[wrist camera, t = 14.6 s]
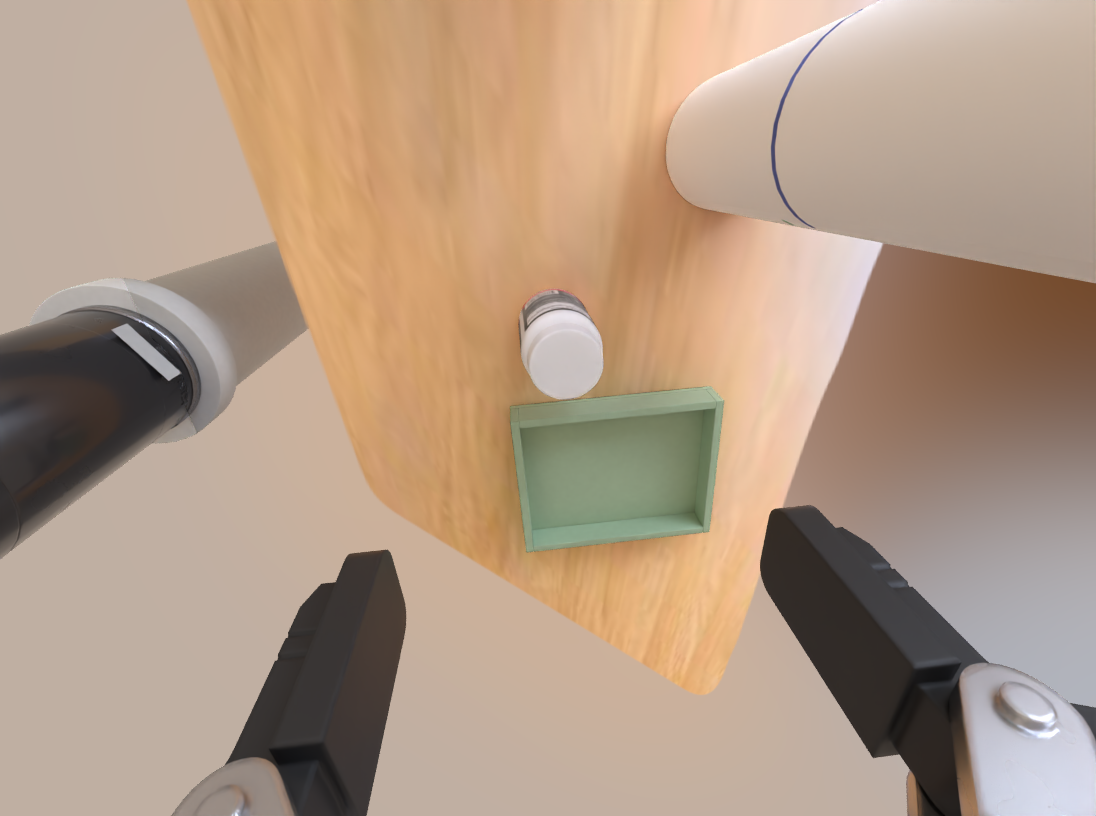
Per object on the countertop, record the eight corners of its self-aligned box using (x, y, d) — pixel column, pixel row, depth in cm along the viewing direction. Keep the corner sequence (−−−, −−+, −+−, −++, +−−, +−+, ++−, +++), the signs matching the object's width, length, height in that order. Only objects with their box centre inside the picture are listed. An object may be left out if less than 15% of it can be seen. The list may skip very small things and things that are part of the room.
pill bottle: (573, 362, 33) (592, 416, 26) (510, 344, 32) (511, 395, 25) (597, 298, 31) (625, 338, 24) (530, 277, 30) (538, 312, 23)
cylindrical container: (724, 41, 26) (2170, -824, 3) (808, 128, 28) (2002, -42, 6) (641, 162, 28) (1165, 126, 6) (724, 233, 30) (1333, 406, 8)
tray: (525, 531, 40) (526, 552, 38) (509, 405, 35) (510, 422, 32) (698, 512, 41) (709, 532, 39) (710, 385, 35) (724, 400, 33)
